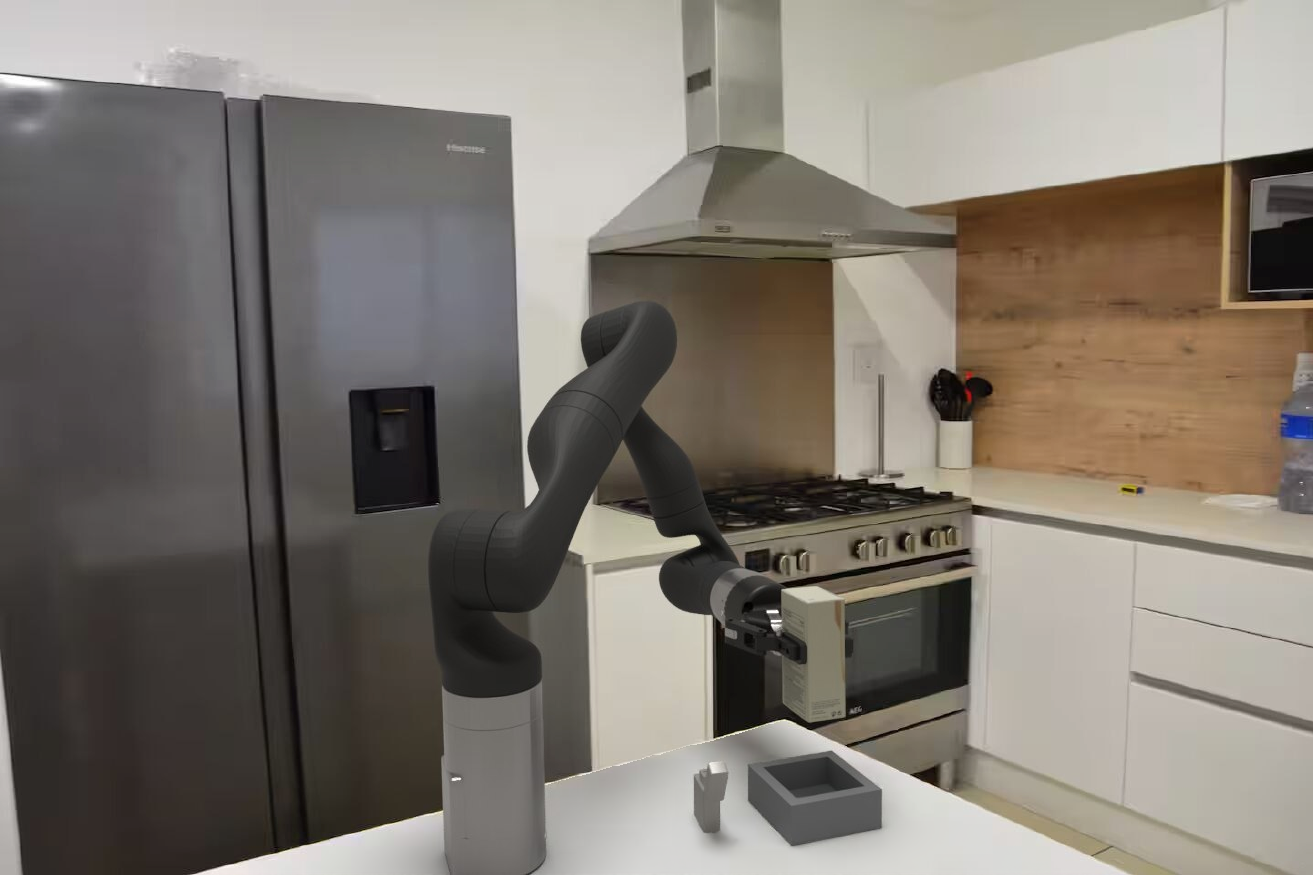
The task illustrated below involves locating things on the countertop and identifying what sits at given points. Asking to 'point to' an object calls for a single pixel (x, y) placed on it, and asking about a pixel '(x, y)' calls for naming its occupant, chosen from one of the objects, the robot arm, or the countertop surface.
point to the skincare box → (815, 653)
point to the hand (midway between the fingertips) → (826, 651)
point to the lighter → (710, 795)
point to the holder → (814, 797)
